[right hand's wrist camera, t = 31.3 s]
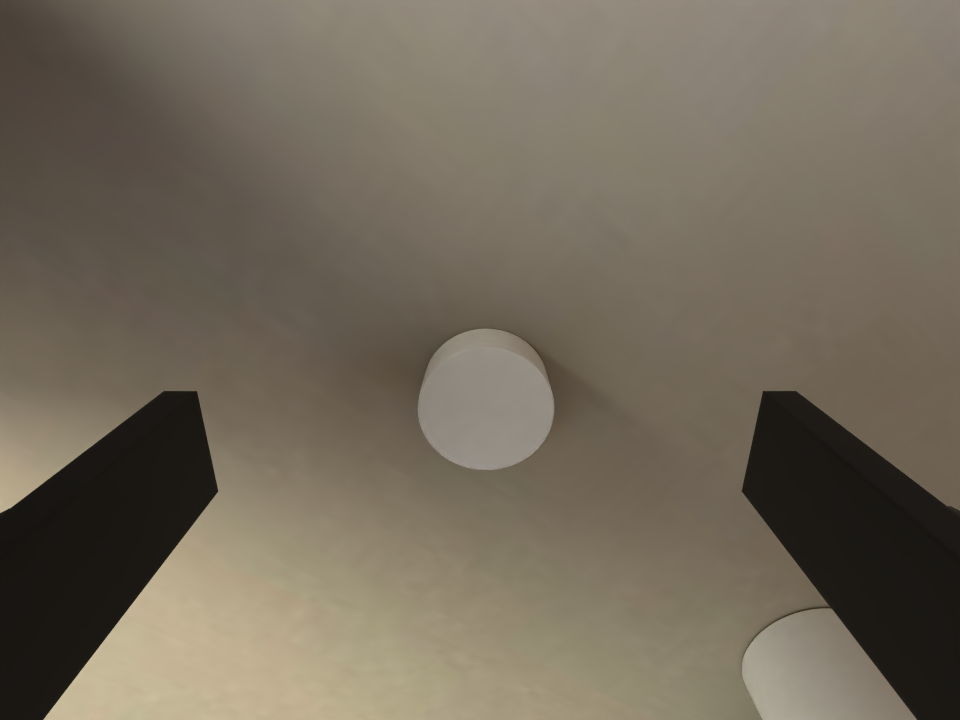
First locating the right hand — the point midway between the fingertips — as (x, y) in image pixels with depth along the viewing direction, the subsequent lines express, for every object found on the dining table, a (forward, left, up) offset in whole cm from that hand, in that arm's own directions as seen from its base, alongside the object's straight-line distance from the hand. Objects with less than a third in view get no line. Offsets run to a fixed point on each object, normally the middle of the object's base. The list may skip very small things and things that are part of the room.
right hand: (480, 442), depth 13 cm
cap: (0, 0, -2) cm, 2 cm away
